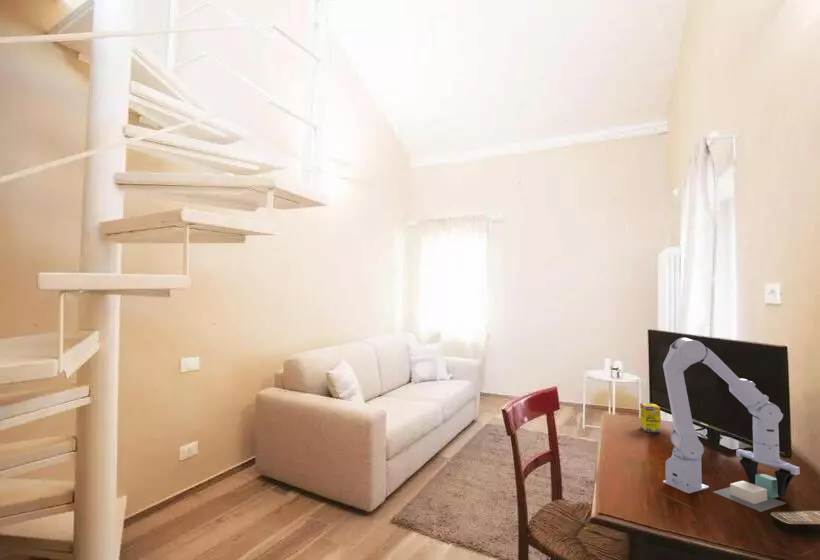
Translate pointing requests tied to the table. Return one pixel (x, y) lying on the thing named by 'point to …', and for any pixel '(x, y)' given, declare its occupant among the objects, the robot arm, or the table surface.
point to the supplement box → (650, 418)
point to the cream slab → (748, 492)
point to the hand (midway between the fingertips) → (767, 490)
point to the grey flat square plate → (759, 506)
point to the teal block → (767, 484)
